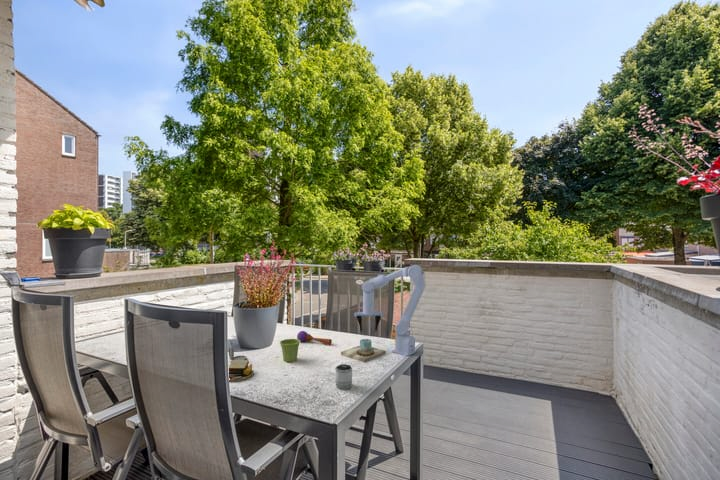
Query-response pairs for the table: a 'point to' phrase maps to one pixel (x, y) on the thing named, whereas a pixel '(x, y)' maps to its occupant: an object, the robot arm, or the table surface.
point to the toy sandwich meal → (240, 370)
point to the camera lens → (343, 376)
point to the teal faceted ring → (365, 344)
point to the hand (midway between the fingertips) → (368, 330)
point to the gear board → (363, 353)
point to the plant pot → (290, 349)
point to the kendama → (311, 338)
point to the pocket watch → (231, 354)
